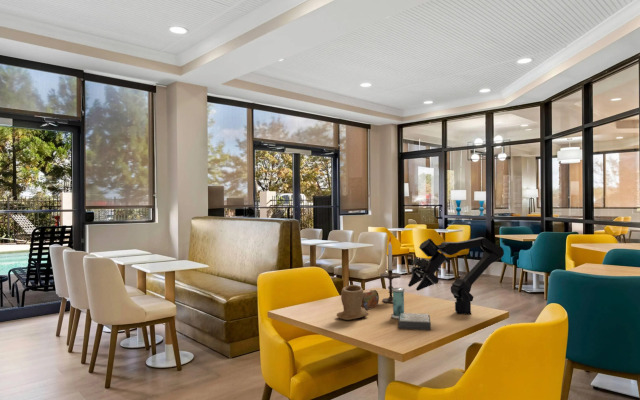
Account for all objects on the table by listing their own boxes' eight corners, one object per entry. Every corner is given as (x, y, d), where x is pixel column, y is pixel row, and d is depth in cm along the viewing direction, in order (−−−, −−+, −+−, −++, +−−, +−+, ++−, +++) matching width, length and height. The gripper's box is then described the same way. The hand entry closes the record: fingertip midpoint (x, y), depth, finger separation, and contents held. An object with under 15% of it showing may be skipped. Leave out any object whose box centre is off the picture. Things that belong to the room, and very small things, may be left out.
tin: (364, 311, 204) (364, 294, 204) (359, 310, 206) (358, 293, 206) (379, 305, 216) (379, 288, 216) (374, 304, 218) (374, 288, 218)
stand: (429, 321, 184) (429, 313, 184) (430, 330, 171) (430, 321, 172) (399, 320, 187) (399, 312, 187) (398, 328, 174) (398, 320, 174)
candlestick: (404, 303, 220) (403, 236, 220) (385, 304, 217) (383, 237, 218) (396, 298, 230) (395, 235, 231) (377, 300, 228) (376, 235, 228)
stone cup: (347, 323, 183) (347, 289, 183) (333, 317, 193) (332, 285, 193) (375, 318, 190) (374, 285, 191) (360, 313, 201) (359, 281, 201)
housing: (406, 315, 195) (405, 287, 195) (406, 319, 188) (405, 290, 189) (391, 314, 196) (391, 287, 197) (390, 318, 190) (390, 290, 190)
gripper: (414, 249, 204) (393, 273, 202) (431, 253, 186) (408, 279, 184) (429, 265, 206) (409, 288, 203) (448, 270, 187) (425, 296, 185)
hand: (412, 288), depth 194 cm, fingers open, 9 cm apart
